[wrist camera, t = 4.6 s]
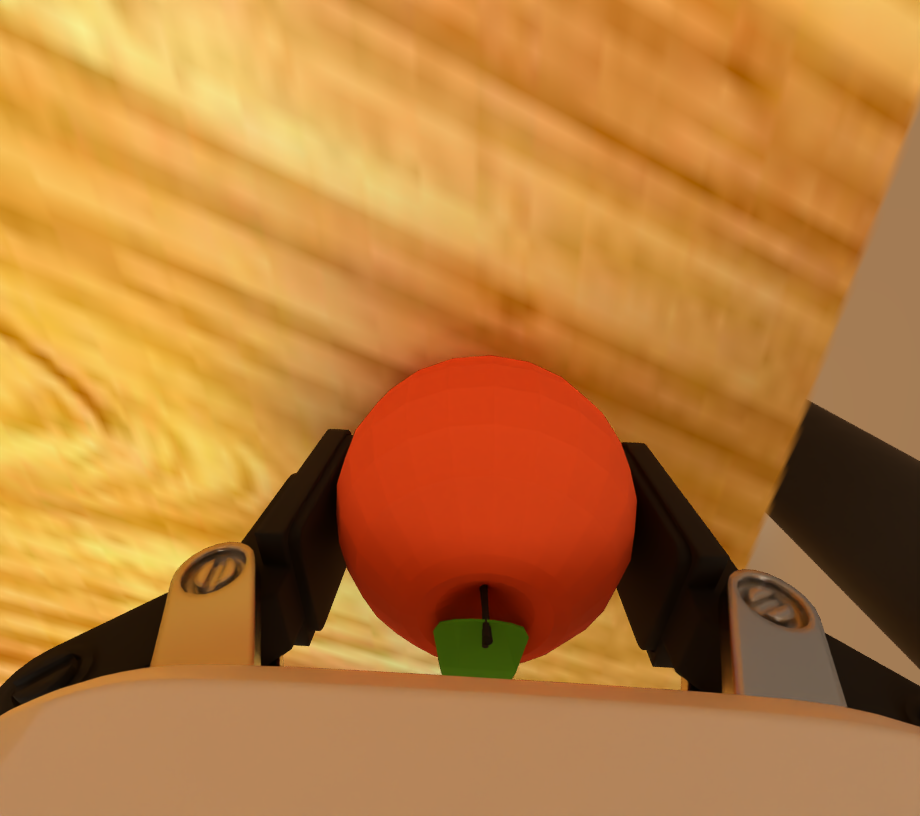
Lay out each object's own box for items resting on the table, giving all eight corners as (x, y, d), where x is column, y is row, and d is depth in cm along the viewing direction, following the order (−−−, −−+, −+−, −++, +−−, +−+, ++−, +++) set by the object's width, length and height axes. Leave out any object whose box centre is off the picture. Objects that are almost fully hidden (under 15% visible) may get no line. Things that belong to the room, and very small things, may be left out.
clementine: (565, 536, 14) (634, 786, 8) (384, 525, 15) (311, 763, 8) (610, 328, 11) (796, 482, 4) (369, 317, 11) (219, 451, 5)
